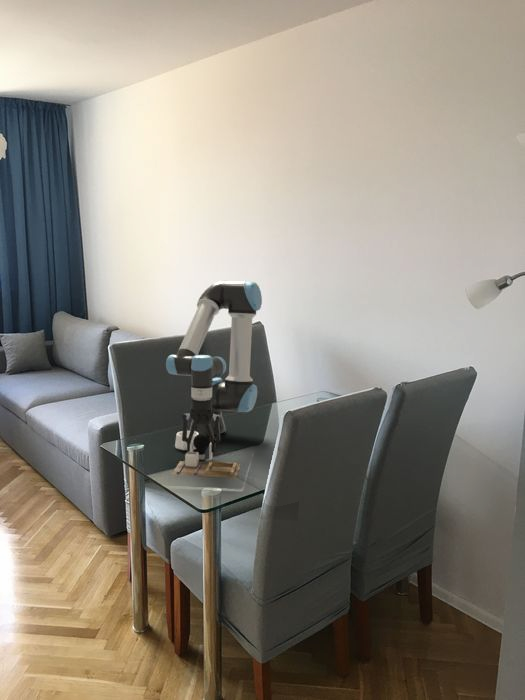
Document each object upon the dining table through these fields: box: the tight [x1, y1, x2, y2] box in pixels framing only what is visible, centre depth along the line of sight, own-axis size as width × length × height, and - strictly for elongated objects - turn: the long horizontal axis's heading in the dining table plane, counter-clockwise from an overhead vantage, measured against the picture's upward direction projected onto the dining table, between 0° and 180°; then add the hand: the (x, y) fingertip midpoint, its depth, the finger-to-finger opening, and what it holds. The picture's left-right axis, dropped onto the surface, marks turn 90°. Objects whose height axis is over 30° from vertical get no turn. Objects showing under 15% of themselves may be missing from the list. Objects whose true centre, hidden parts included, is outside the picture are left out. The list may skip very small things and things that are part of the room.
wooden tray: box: [170, 460, 241, 478], centre depth 207 cm, size 14×22×2 cm, turn 86°
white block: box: [184, 451, 200, 467], centre depth 210 cm, size 4×4×5 cm
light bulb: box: [193, 434, 210, 461], centre depth 217 cm, size 6×6×10 cm
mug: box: [174, 430, 199, 451], centre depth 231 cm, size 12×10×6 cm
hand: (201, 460), depth 218 cm, fingers open, 6 cm apart
